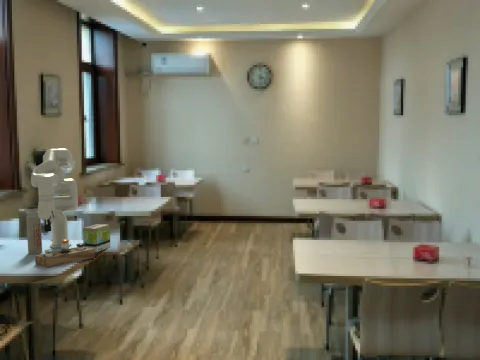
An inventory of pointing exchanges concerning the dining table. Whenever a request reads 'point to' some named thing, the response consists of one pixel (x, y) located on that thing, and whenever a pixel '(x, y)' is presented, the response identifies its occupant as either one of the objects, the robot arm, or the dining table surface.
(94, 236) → the tea box
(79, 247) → the plug
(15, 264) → the dining table surface
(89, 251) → the socket block
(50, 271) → the dining table surface
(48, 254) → the plug
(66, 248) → the plug mid
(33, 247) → the thermos bottle
